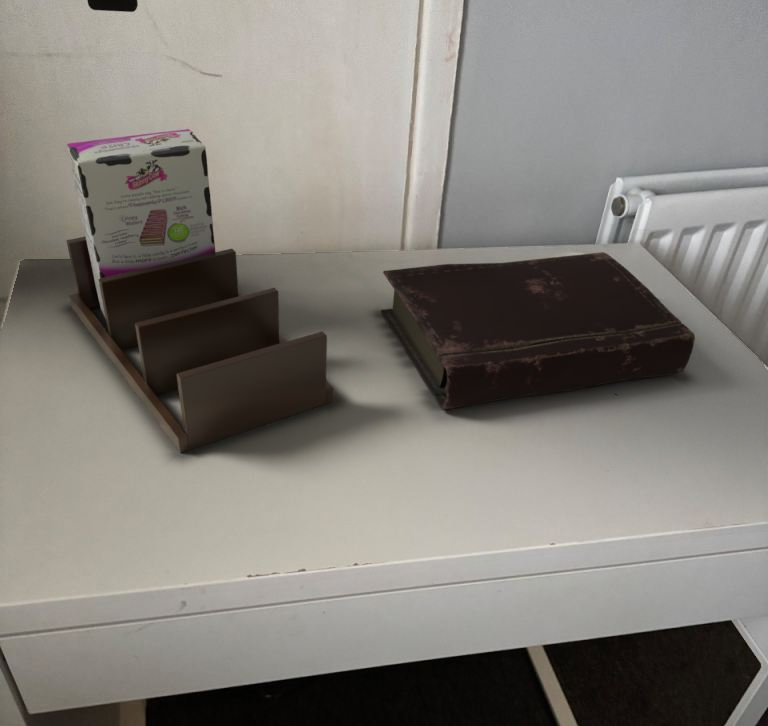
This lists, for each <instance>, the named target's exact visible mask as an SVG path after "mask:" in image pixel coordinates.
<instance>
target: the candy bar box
mask: <svg viewBox="0 0 768 726" xmlns="http://www.w3.org/2000/svg"><path fill="white" fill-rule="evenodd" d="M206 148H207V147H206V146H205V144H204V143H203V142H202V141H201V140H200V139H199V138H198V136H196V135H195V134H194V132H193V131H192V130H191V129H189V128H185V129H177V130H170V131H160V132H150V133H143V134H142V133H141V134H135V135H126V136H125V135H124V136H117V137H110V138H109V137H108V138H104V139H93V140H86V141H77V142H69V143H67V144H66V149H67V152H68V158H69V163H70V167H71V173H72V177H73V181H74V187H75V191H76V196H77V200H78V205H79V212H80V215H81V220H82V225H83V231H84V235H85V236H86V241H87V246H88V251H89V255H90V260H91V265H92V270H93V275H94V280H95V285H96V289H97V294H98V299H99V303H100V306H99V307H100V311H101V313H102V315H103V318H104V319H105V320H106V318H105V312H104V307H103V302H102V296H101V291H100V286H99V280H98V279H100V278H105V277H109V276H114V275H118V274H122V273H127V272H131V271H135V270H140V269H144V268H149V267H153V266H157V265H162V264H166V263H171V262H175V261H179V260H184V259H188V258H193V257H197V256H201V255H206V254H210V253H214V252H216V243H215V234H214V222H213V211H212V202H211V201H212V200H211V189H210V180H209V168H208V157H207V151H206V150H207V149H206ZM85 236H84V237H85Z"/></svg>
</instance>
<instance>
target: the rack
mask: <svg viewBox="0 0 768 726" xmlns="http://www.w3.org/2000/svg"><path fill="white" fill-rule="evenodd" d="M66 246H67V251H68V255H69V260H70V265H71V271H72V275H73V279H74V284H75V289H76V293H73V294H69V301H70V305H71V309H72V310H73V311H74V313H75V314H76V316H77V317H78V319H79V320H80V321H81V322H82V324H83V325H84V327H85V328H86V329H87V330H88V332H89V333H90V335H91V336H92V337H93V339H94V340H95V341H96V342H97V344H98V345H99V347H100V348H101V349H102V351H103V352H104V354H106V356H107V357H108V358H109V360H110V361H111V362H112V364H113V365H114V367H115V368H116V369H117V370H118V371H119V373H120V375H121V376H122V377H123V379H124V380H125V381H126V382H127V384H128V385H129V386H130V388H131V389H132V391H133V392H134V394H136V396H137V397H138V399H139V400H140V401H141V402H142V404H143V405H144V406H145V408H146V409H147V410H148V412H149V413H150V414H151V416H152V417H153V418H154V420H155V421H156V423H157V424H158V425H159V426H160V428H161V429H162V431H163V432H164V433H165V434H166V436H167V437H168V439H169V441H171V443H172V444H173V445H174V447H175V448H176V450H177V451H178V452H179V453H184V452H187V451H189V450H193V449H196V448H199V447H202V446H205V445H209V444H211V443H214V442H217V441H219V440H224V439H226V438H228V437H232V436H235V435H238V434H240V433H244V432H247V431H250V430H253V429H255V428H258V427H262V426H264V425H267V424H270V423H274V422H276V421H279V420H282V419H285V418H287V417H291V416H294V415H297V414H301V413H303V412H306V411H308V410H312V409H316V408H318V407H320V406H323V405H326V404H329V403H333V402H334V394H335V393H334V391H335V389H334V386H333V385H332V384H330V382H328V380H327V364H328V363H327V360H328V356H327V355H328V335H327V334H326V333H325V332H324V331H323V330H322V331H321V330H320V331H318V332H315V333H311V334H307V335H305V336H301V337H297V338H294V339H291V340H285V338H283V336H282V335H280V308H279V306H280V305H279V304H280V303H279V302H280V301H279V299H280V298H279V290H278V289H277V288H276V287H269V288H266V289H262V290H258V291H255V292H249V293H247V294H243V295H240V294H239V284H238V281H239V280H238V267H237V264H238V263H237V252H236V250H235V249H234V248H227V249H222V250H220V251H215V252H214V253H210V254H206V255H201V256H197V257H193V258H188V259H184V260H179V261H175V262H171V263H166V264H162V265H157V266H153V267H149V268H144V269H140V270H135V271H131V272H127V273H122V274H118V275H114V276H109V277H105V278H100V279H98V280H99V286H100V291H101V296H102V302H103V307H104V312H105V317H104V319H105V318H106V319H105V322H106V328H107V330H106V329H105V327H104V326H103V325H102V323H101V322H100V321H99V319H97V317H96V316H95V314H94V313H93V312H92V311H91V309H94V308H96V307H97V308H98V307H100V303H99V299H98V294H97V289H96V285H95V280H94V275H93V270H92V265H91V260H90V255H89V251H88V246H87V241H86V236H81V237H76V238H71V239H67V240H66ZM134 346H138V351H139V358H140V364H141V371H142V375H141V374H140V372H139V371H138V370H137V369H136V367H135V366H134V365H133V363H132V362H131V361H130V359H129V358H128V357H127V356H126V354H125V353H124V352H123V351H122V350H123V349H127V348H131V347H134ZM142 376H143V377H142ZM174 390H178V397H179V404H180V413H181V421H182V427H181V426H180V424H179V423H178V422H177V420H176V419H175V418H174V416H173V415H172V414H171V413H170V411H169V410H168V408H166V405H164V404H163V402H162V401H161V399H159V397H158V396H157V395H161V394H163V393H167V392H172V391H174Z"/></svg>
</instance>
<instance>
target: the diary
mask: <svg viewBox="0 0 768 726" xmlns="http://www.w3.org/2000/svg"><path fill="white" fill-rule="evenodd" d="M382 274H383V275H384V277H385V279H386V280H387V281H388V282H389V284H390V286H391V287H392V289H393V297H392V298H393V301H392V308H386V309H380V314H381V315H382V317H383V318H384V319H385V322H386V323H387V325H388V326H389V328H390V330H391V331H392V333H393V335H394V336H395V337H396V339H397V341H398V342H399V344H400V345H401V347H402V349H403V351H404V352H405V354H406V355H407V357H408V359H409V360H410V362H411V363H412V365H413V367H414V368H415V370H416V371H417V373H418V374H419V376H420V378H421V379H422V381H423V382H424V384H425V386H426V387H427V389H428V391H429V392H430V394H431V395H432V396H433V399H434V400H435V402H436V403H437V405H438V406H439V408H440V410H442V411H443V410H449V409H450V410H451V409H455V408H460V407H461V408H462V407H466V406H472V405H477V404H481V403H488V402H493V401H498V400H505V399H510V398H517V397H525V396H534V395H542V394H551V393H557V392H558V393H559V392H567V391H573V390H578V389H584V388H589V387H595V386H599V385H605V384H610V383H615V382H620V381H626V380H637V379H646V378H652V377H660V376H661V377H663V376H672V375H678V374H681V373H683V372H684V370H685V368H687V367H686V366H687V365H688V363H689V360H690V358H691V355H692V352H693V348H694V345H695V340H696V337H695V333H694V332H693V331H692V329H690V328H689V327H688V326H687V325H685V324H684V323H682V321H681V320H680V319H679V318H678V317H677V316H675V314H674V313H672V312H671V310H669V309H668V307H666V306H665V305H664V304H663V302H661V300H660V299H659V298H658V297H657V296H656V295H655V294H654V293H653V292H652V291H651V290H650V289H649V288H648V287H647V286H646V285H645V284H644V283H643V282H642V281H640V280H639V279H638V278H637V277H636V276H635V275H634V274H633V273H632V272H631V271H629V270H628V269H627V268H626V267H625V266H623V265H622V264H621V263H620V262H619V261H617V260H616V259H615V258H613V257H612V256H611V255H610V254H608V253H606V252H604V251H600V252H593V253H583V254H581V253H580V254H574V255H573V254H572V255H563V256H553V257H543V258H536V259H535V258H534V259H526V260H525V259H524V260H516V261H507V262H478V263H477V262H476V263H475V262H473V263H444V264H434V265H426V266H417V267H406V268H398V269H397V268H396V269H389V270H383V271H382Z"/></svg>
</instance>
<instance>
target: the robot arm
mask: <svg viewBox="0 0 768 726" xmlns="http://www.w3.org/2000/svg"><path fill="white" fill-rule="evenodd" d="M86 1H87V5H88V7H89V8H90V9H91V10H92V11H102V12H103V11H104V12H105V11H106V12H123V13H124V12H126V13H134V12H136V11H137V9H138V5H139V2H138V0H86Z"/></svg>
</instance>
